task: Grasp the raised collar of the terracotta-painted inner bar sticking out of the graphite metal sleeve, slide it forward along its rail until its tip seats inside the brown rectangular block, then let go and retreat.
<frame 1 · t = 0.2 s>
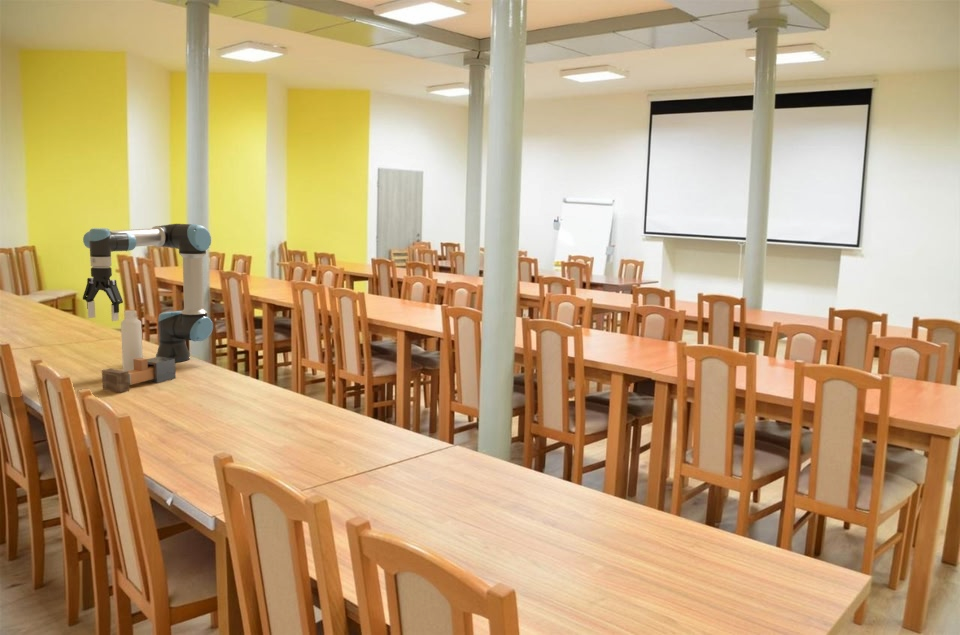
hand: (103, 319, 307), 27 cm above the table, fingers open, 13 cm apart
sleeve: (158, 379, 322), on the table
brown rectangular block: (116, 390, 302), on the table
bottle: (133, 374, 329), on the table
inner bar: (145, 368, 315), point 6 cm above the table, slide at 0.0 cm
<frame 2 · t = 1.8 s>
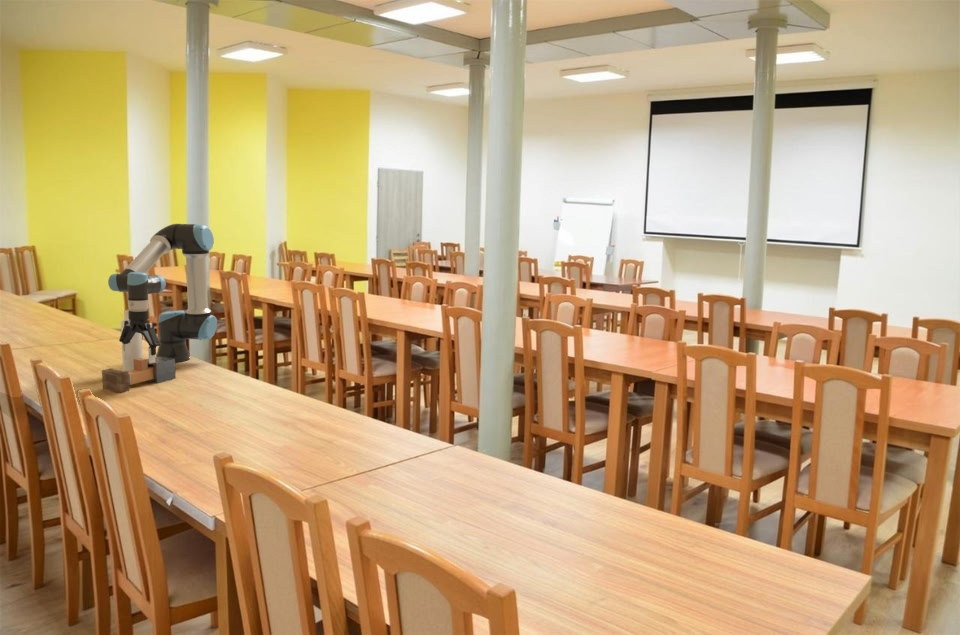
hand: (140, 361, 312), 10 cm above the table, fingers open, 13 cm apart
nothing on the table moved.
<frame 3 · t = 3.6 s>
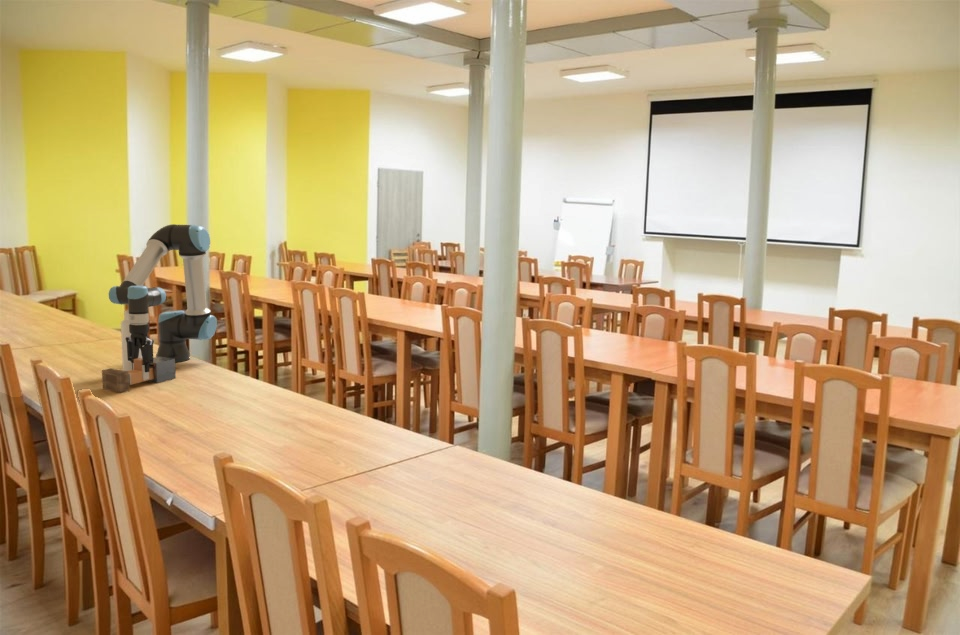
hand: (141, 378, 313), 2 cm above the table, fingers closed on inner bar, 4 cm apart
inner bar: (145, 368, 315), point 6 cm above the table, slide at 0.0 cm, touching gripper
everything else where it was.
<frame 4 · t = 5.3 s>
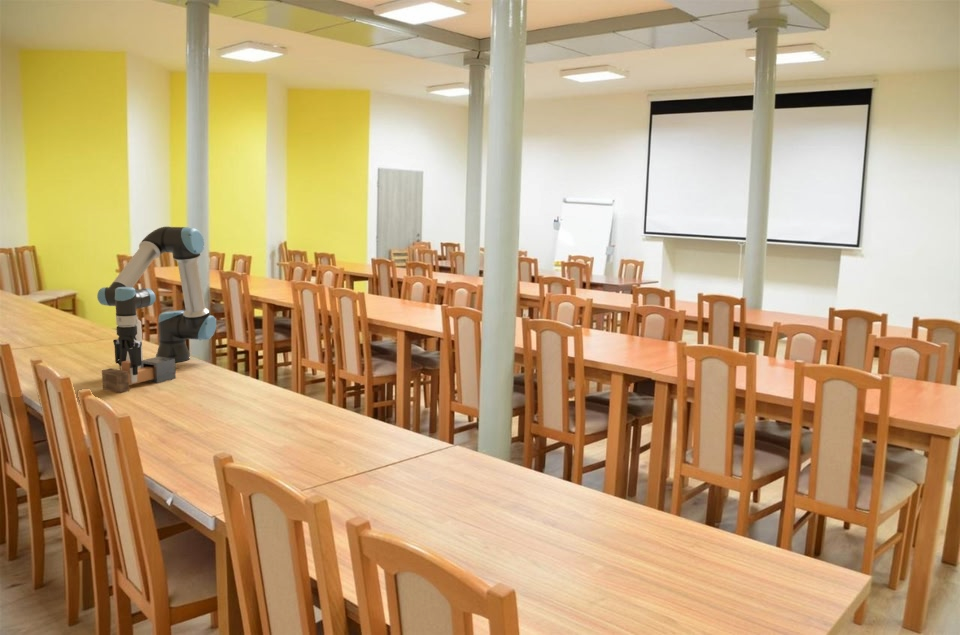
hand: (129, 381, 308), 2 cm above the table, fingers closed on inner bar, 4 cm apart
inner bar: (133, 371, 309), point 6 cm above the table, slide at 6.0 cm, touching gripper, brown rectangular block
everything else where it was.
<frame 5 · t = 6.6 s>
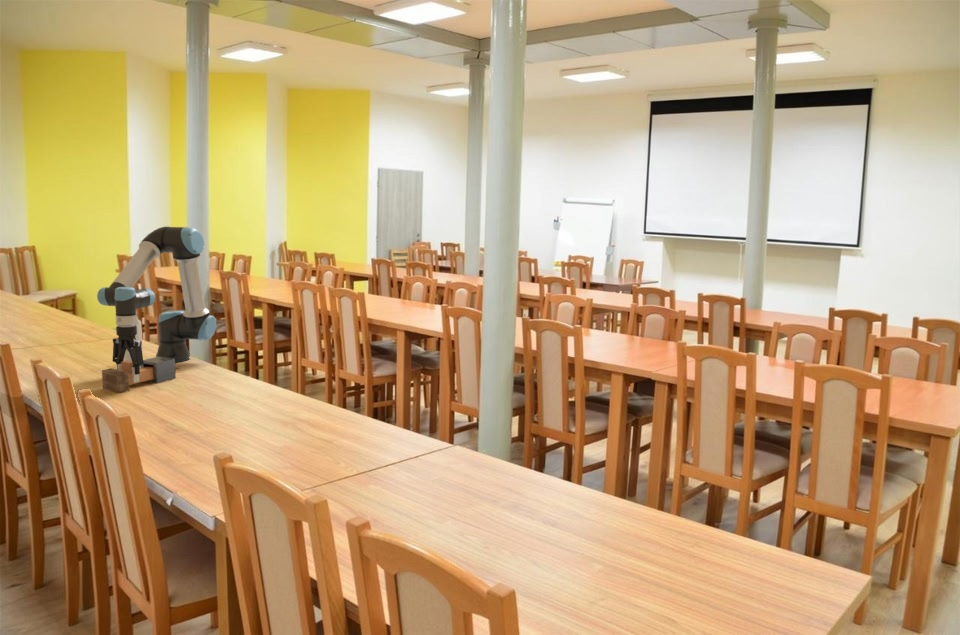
hand: (128, 380, 308), 3 cm above the table, fingers open, 7 cm apart
inner bar: (133, 371, 309), point 6 cm above the table, slide at 6.0 cm, touching brown rectangular block
everything else where it was.
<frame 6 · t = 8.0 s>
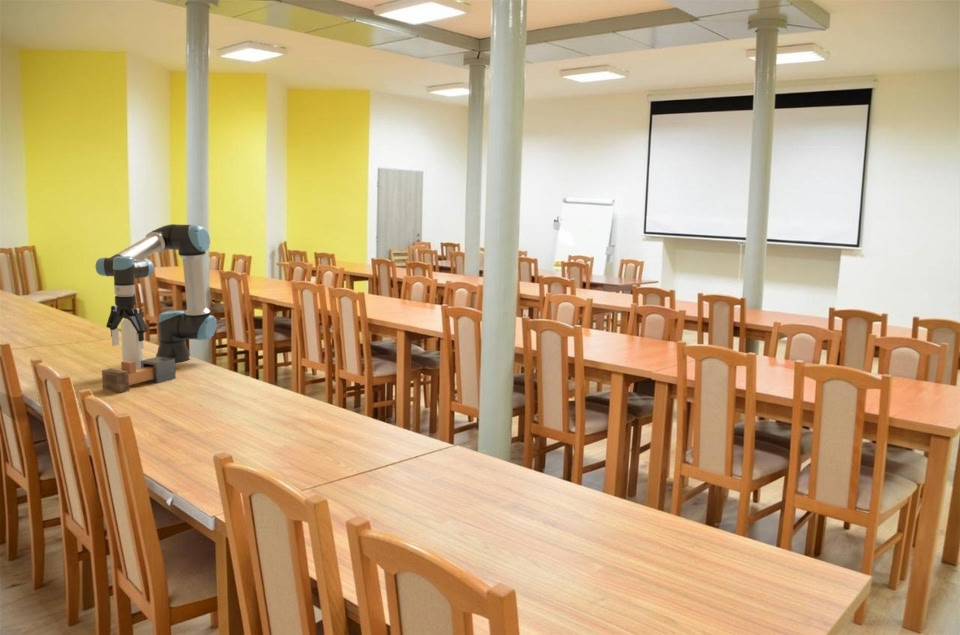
hand: (127, 347, 306), 17 cm above the table, fingers open, 13 cm apart
nothing on the table moved.
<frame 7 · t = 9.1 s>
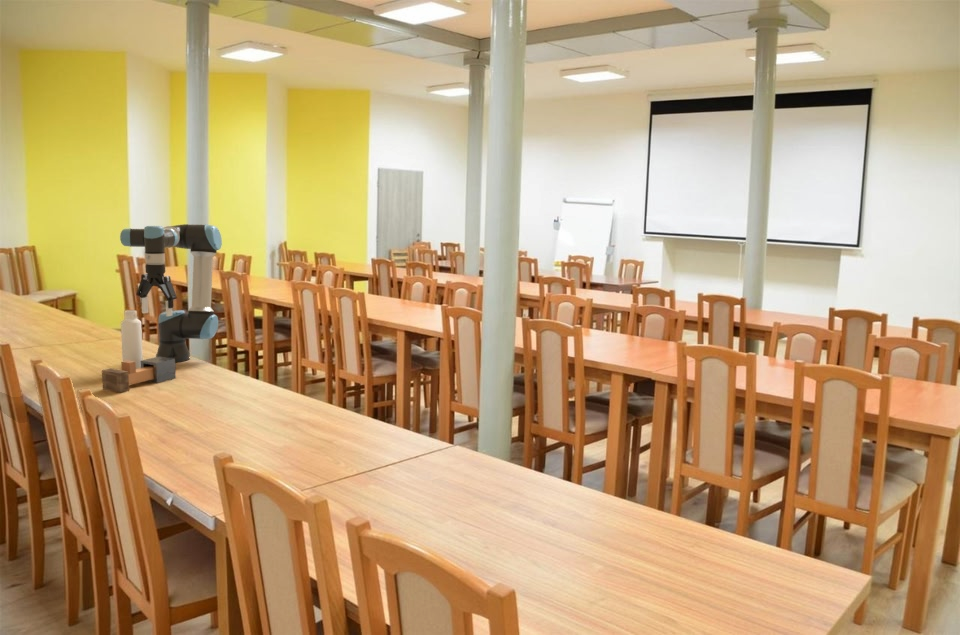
hand: (157, 314, 314), 29 cm above the table, fingers open, 13 cm apart
nothing on the table moved.
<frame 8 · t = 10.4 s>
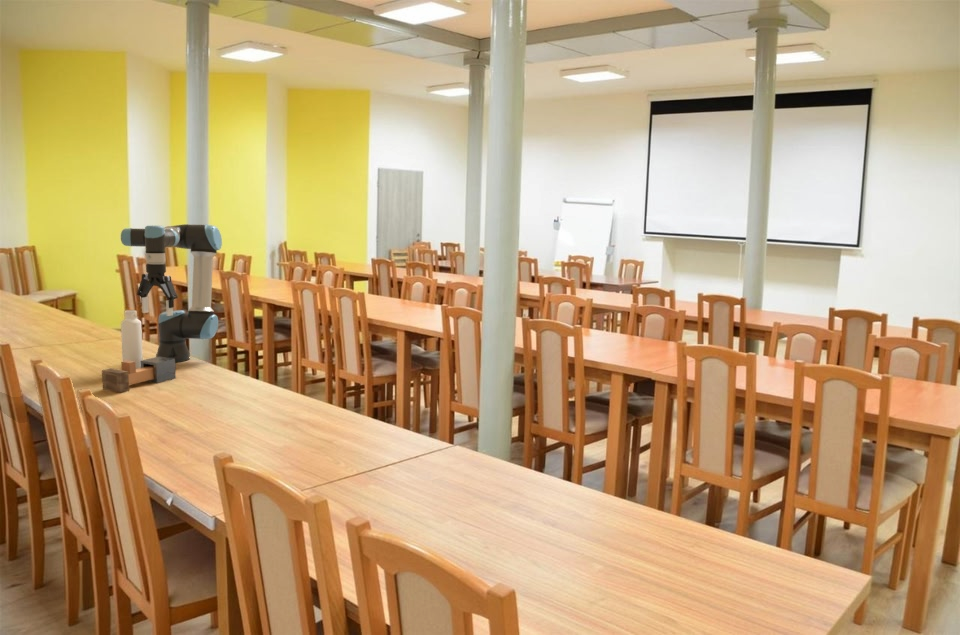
hand: (157, 314, 314), 29 cm above the table, fingers open, 13 cm apart
nothing on the table moved.
at the end: inner bar slide at 6.0 cm; the gripper is holding nothing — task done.
